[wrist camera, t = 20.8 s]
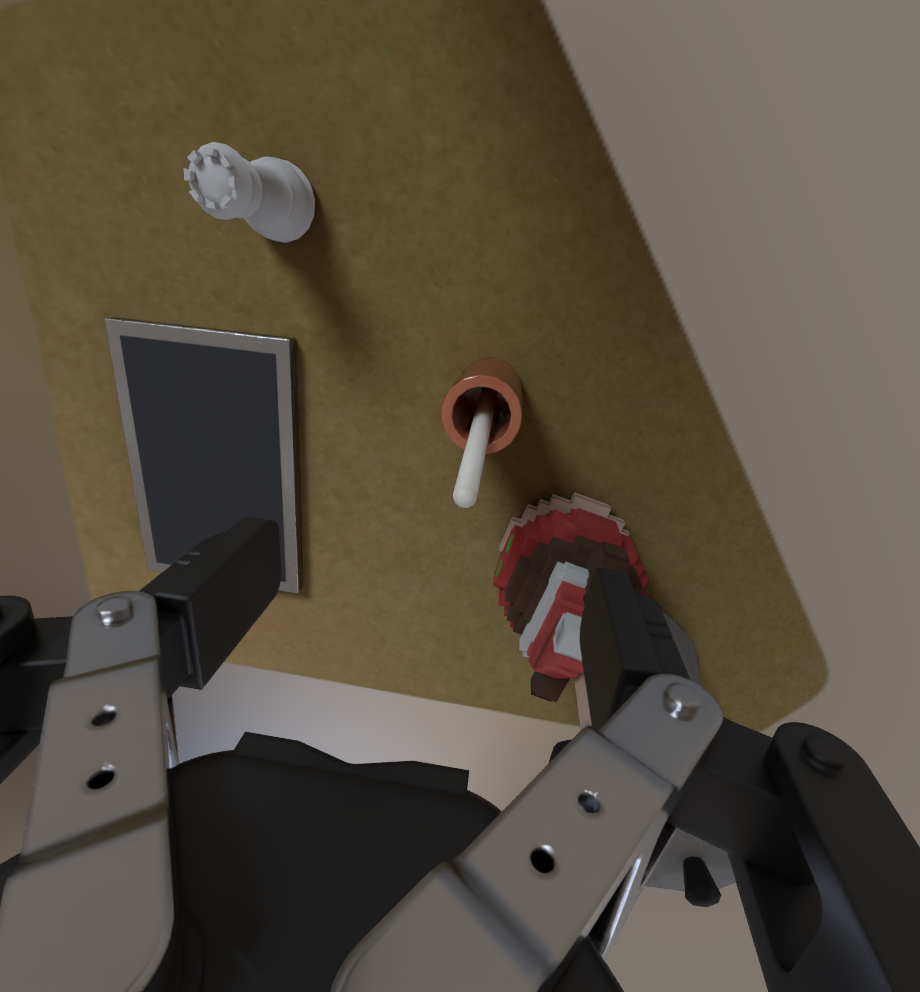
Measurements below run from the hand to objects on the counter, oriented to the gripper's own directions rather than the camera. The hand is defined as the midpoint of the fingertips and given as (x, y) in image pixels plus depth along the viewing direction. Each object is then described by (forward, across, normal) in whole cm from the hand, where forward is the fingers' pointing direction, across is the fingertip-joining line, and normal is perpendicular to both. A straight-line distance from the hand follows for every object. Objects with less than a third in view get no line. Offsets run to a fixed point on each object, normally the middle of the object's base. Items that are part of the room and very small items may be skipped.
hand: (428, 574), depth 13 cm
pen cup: (+24, 0, 0) cm, 24 cm away
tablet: (+23, +20, +8) cm, 32 cm away
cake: (+24, -7, +11) cm, 27 cm away
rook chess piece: (+24, +14, -10) cm, 29 cm away
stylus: (+23, 0, 0) cm, 23 cm away
